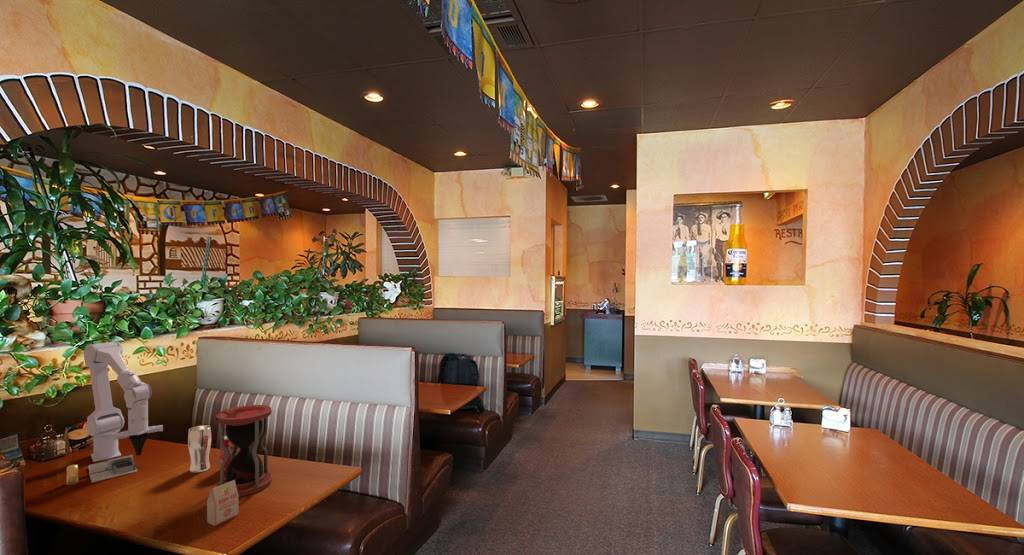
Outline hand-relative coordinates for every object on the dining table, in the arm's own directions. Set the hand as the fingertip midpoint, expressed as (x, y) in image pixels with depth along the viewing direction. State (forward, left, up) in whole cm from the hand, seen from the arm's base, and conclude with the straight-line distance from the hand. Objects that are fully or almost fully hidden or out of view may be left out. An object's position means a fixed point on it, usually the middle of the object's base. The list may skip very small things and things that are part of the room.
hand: (138, 454), depth 171 cm
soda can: (+30, +23, -4) cm, 38 cm away
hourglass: (+48, +22, -4) cm, 53 cm away
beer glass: (+22, +15, -4) cm, 27 cm away
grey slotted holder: (-3, -7, -3) cm, 9 cm away
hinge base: (+4, -7, -3) cm, 9 cm away
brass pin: (+4, -18, -4) cm, 19 cm away
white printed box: (+66, +11, -4) cm, 67 cm away
